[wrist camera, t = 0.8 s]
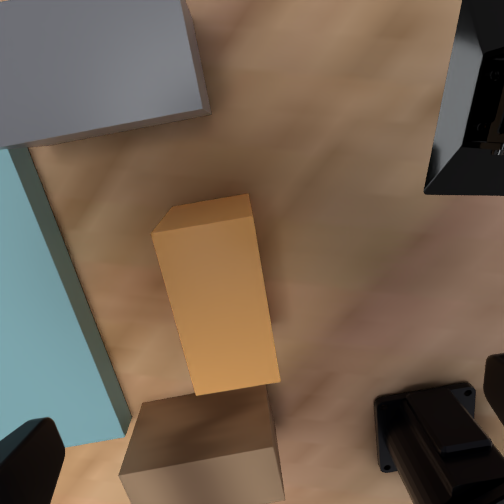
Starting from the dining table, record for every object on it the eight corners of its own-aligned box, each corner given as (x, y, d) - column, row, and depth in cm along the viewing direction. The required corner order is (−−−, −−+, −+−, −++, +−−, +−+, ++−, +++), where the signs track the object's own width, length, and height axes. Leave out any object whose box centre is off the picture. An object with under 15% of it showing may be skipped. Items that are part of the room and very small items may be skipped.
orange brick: (270, 323, 21) (280, 381, 16) (204, 334, 21) (195, 395, 16) (248, 192, 18) (252, 216, 13) (172, 206, 18) (150, 233, 13)
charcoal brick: (192, 18, 15) (173, -32, 10) (211, 114, 16) (202, 108, 12) (16, 52, 15) (-83, 18, 10) (49, 145, 17) (-24, 151, 12)
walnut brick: (264, 378, 22) (273, 446, 17) (274, 425, 23) (285, 500, 19) (143, 401, 22) (118, 475, 17) (160, 446, 23) (141, 526, 19)
